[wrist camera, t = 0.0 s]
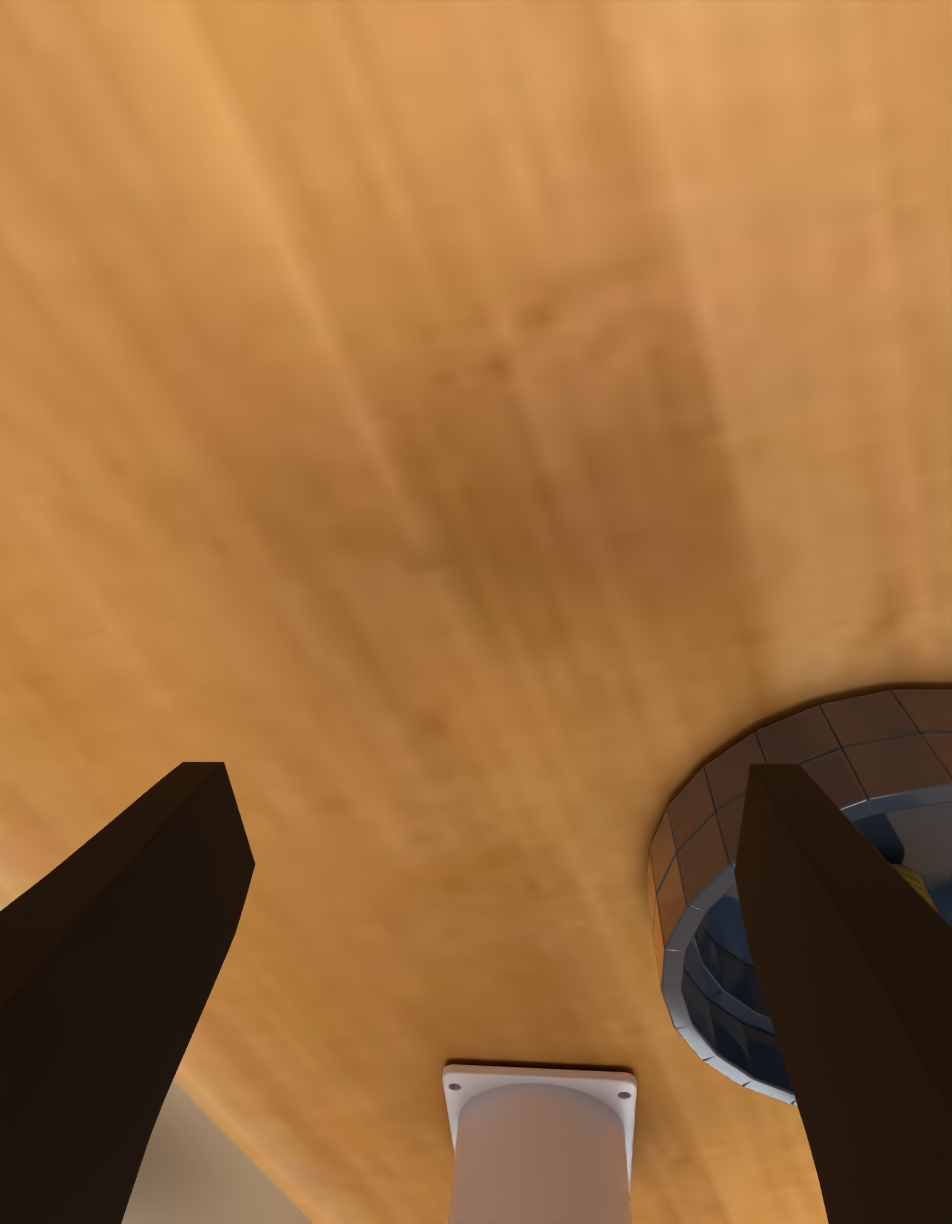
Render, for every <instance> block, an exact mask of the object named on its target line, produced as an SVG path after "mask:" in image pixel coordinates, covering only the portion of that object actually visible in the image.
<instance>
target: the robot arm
mask: <svg viewBox="0 0 952 1224" xmlns="http://www.w3.org/2000/svg"><path fill="white" fill-rule="evenodd" d="M254 867H255V862H254V859H253V855H252V852H251V849H250V846H249V842H248V839H247V836H246V833H245V829H244V826H243V823H242V819H241V816H240V813H239V810H238V806H237V803H236V800H235V796H234V793H233V790H232V787H231V783H230V780H229V777H228V774H227V770H226V767H225V764H224V762H183V763H181V764H180V765H179V766H177V767H176V768H175V769H174V770H172V771H171V772H170V773H168V774H167V775H166V776H165V777H164V778H162V779H161V780H160V781H159V782H157V783H156V784H155V785H154V786H153V787H151V788H150V789H149V790H148V791H147V792H146V793H144V794H143V795H142V796H141V797H140V798H138V799H137V800H136V801H135V802H134V803H133V804H131V805H130V806H129V807H128V808H127V809H125V810H124V811H123V812H122V813H121V814H120V815H118V816H117V817H116V818H115V819H114V820H113V821H111V822H110V823H109V824H108V825H107V826H105V827H104V828H103V829H102V830H101V831H99V832H98V833H97V834H96V835H95V836H93V837H92V838H91V839H90V840H89V841H87V842H86V843H85V844H84V845H83V846H81V847H80V848H79V849H78V850H77V851H75V852H74V853H73V854H72V855H71V856H69V857H68V858H67V859H66V860H65V861H63V862H62V863H61V864H60V865H59V866H57V867H56V868H55V869H54V870H53V871H51V872H50V873H49V874H48V875H46V876H45V877H44V878H43V879H41V880H40V881H39V882H37V883H36V884H35V885H34V886H32V887H31V888H30V889H28V890H27V891H26V892H25V893H23V894H22V895H21V896H19V897H18V898H17V899H16V900H14V901H13V902H12V903H10V904H9V905H8V906H7V907H5V908H4V909H3V910H2V911H0V1224H121V1223H122V1219H123V1216H124V1213H125V1210H126V1207H127V1204H128V1201H129V1198H130V1195H131V1192H132V1189H133V1186H134V1183H135V1180H136V1177H137V1174H138V1171H139V1168H140V1165H141V1162H142V1159H143V1156H144V1153H145V1150H146V1147H147V1144H148V1141H149V1138H150V1135H151V1133H152V1130H153V1128H154V1125H155V1122H156V1120H157V1117H158V1115H159V1112H160V1110H161V1107H162V1104H163V1102H164V1099H165V1097H166V1095H167V1092H168V1090H169V1088H170V1085H171V1083H172V1081H173V1078H174V1076H175V1074H176V1071H177V1069H178V1067H179V1064H180V1062H181V1060H182V1058H183V1055H184V1053H185V1051H186V1048H187V1046H188V1044H189V1041H190V1039H191V1037H192V1034H193V1032H194V1030H195V1027H196V1025H197V1023H198V1021H199V1018H200V1016H201V1014H202V1011H203V1009H204V1007H205V1004H206V1002H207V1000H208V997H209V995H210V993H211V990H212V988H213V986H214V983H215V981H216V979H217V976H218V974H219V972H220V969H221V967H222V964H223V962H224V960H225V957H226V955H227V953H228V950H229V948H230V945H231V943H232V940H233V938H234V935H235V933H236V929H237V926H238V923H239V920H240V916H241V913H242V910H243V907H244V903H245V900H246V896H247V892H248V889H249V885H250V881H251V878H252V874H253V870H254ZM734 875H735V880H736V886H737V891H738V897H739V902H740V908H741V913H742V918H743V923H744V928H745V933H746V938H747V943H748V948H749V951H750V955H751V958H752V961H753V965H754V968H755V971H756V975H757V978H758V981H759V984H760V987H761V991H762V994H763V997H764V1000H765V1004H766V1007H767V1010H768V1013H769V1017H770V1020H771V1023H772V1026H773V1029H774V1032H775V1036H776V1039H777V1042H778V1045H779V1048H780V1051H781V1055H782V1058H783V1061H784V1064H785V1067H786V1070H787V1074H788V1077H789V1080H790V1083H791V1086H792V1090H793V1093H794V1096H795V1099H796V1102H797V1105H798V1109H799V1112H800V1115H801V1118H802V1121H803V1124H804V1128H805V1131H806V1134H807V1138H808V1141H809V1145H810V1149H811V1152H812V1156H813V1160H814V1163H815V1167H816V1171H817V1174H818V1178H819V1182H820V1187H821V1191H822V1196H823V1200H824V1205H825V1209H826V1214H827V1218H828V1223H829V1224H952V926H951V925H950V924H949V923H948V922H947V921H946V920H945V919H944V918H943V917H942V916H941V915H940V914H939V913H938V912H937V911H936V910H935V909H934V908H933V907H932V906H931V905H930V904H929V903H928V902H927V901H926V900H925V899H924V898H923V897H922V896H921V895H920V894H919V893H918V892H917V891H916V890H915V889H914V888H913V887H912V886H911V885H910V884H909V883H908V881H907V880H906V879H905V878H904V877H903V876H902V875H901V874H900V873H899V872H898V871H897V870H896V869H895V868H894V867H893V866H892V865H891V864H890V863H889V862H888V861H887V860H886V859H885V858H884V857H883V856H882V855H881V853H880V852H879V851H878V850H877V849H876V848H875V847H874V846H873V845H872V844H871V843H870V842H869V841H868V839H867V838H866V837H865V836H864V835H863V834H862V833H861V832H860V831H859V830H858V829H857V827H856V826H855V825H854V824H853V823H852V822H851V821H850V820H849V819H848V818H847V816H846V815H845V814H844V813H843V812H842V811H841V810H840V809H839V808H838V806H837V805H836V804H835V803H834V802H833V801H832V800H831V799H830V797H829V796H828V795H827V794H826V793H825V792H824V791H823V790H822V789H821V787H820V786H819V785H818V784H817V783H816V782H815V781H814V780H813V778H812V777H811V776H810V775H809V774H808V773H807V772H806V771H805V770H804V769H803V768H802V767H801V766H800V765H799V764H750V768H749V774H748V781H747V788H746V795H745V802H744V809H743V816H742V822H741V829H740V836H739V843H738V850H737V857H736V864H735V870H734ZM442 1081H443V1087H444V1093H445V1099H446V1106H447V1112H448V1118H449V1124H450V1130H451V1136H452V1143H453V1149H454V1155H455V1159H454V1170H453V1180H452V1191H451V1201H450V1212H449V1222H448V1224H632V1218H631V1205H630V1193H629V1191H630V1184H631V1169H632V1154H633V1139H634V1125H635V1110H636V1095H637V1083H636V1078H635V1077H634V1076H633V1075H632V1074H630V1073H626V1072H608V1071H587V1070H565V1069H544V1068H522V1067H501V1066H479V1065H457V1064H452V1065H448V1066H446V1067H445V1068H444V1069H443V1075H442Z"/></svg>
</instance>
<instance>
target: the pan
mask: <svg viewBox="0 0 952 1224" xmlns="http://www.w3.org/2000/svg"><path fill="white" fill-rule="evenodd" d="M750 764H799V765H800V766H801V767H802V768H803V769H804V770H805V771H806V772H807V773H808V774H809V775H810V776H811V777H812V778H813V780H814V781H815V782H816V783H817V784H818V785H819V786H820V787H821V789H822V790H823V791H824V792H825V793H826V794H827V795H828V796H829V797H830V799H831V800H832V801H833V802H834V803H835V804H836V805H837V806H838V808H839V809H840V810H841V811H842V812H843V813H844V814H845V815H846V816H847V818H848V819H849V820H850V821H851V822H852V823H853V824H854V825H855V826H856V827H857V829H858V830H859V831H860V832H861V833H862V834H863V835H864V836H865V837H866V838H867V839H868V841H869V842H870V843H871V844H872V845H873V846H874V847H875V848H876V849H877V850H878V851H879V852H880V853H881V855H882V856H883V857H884V858H885V859H886V860H887V861H888V862H889V863H890V864H899V865H903V866H906V867H908V868H910V869H912V870H913V871H915V872H916V873H917V874H918V875H919V876H920V877H921V879H922V881H923V884H924V887H925V888H926V890H927V892H928V895H929V896H930V897H931V899H932V901H933V904H934V905H935V907H936V908H937V910H938V913H939V914H940V915H941V916H942V917H943V918H944V919H945V920H946V921H947V922H948V923H949V924H950V925H951V926H952V689H906V690H892V691H889V690H887V691H882V692H877V693H873V694H868V695H863V696H858V697H853V698H848V699H843V700H838V701H833V702H828V703H824V704H821V705H820V706H818V705H817V706H814V707H811V708H809V709H807V710H804V711H802V712H799V713H797V714H795V715H792V716H790V717H787V718H785V719H783V720H780V721H778V722H775V723H773V724H771V725H768V726H766V727H763V728H761V729H759V730H757V731H756V733H755V732H754V733H751V734H750V735H749V736H747V737H746V738H744V739H743V740H741V741H740V742H738V743H737V744H735V745H734V746H733V747H731V748H730V749H728V750H727V751H725V752H724V753H722V754H721V755H719V756H718V757H717V758H715V759H714V760H712V761H711V762H709V763H708V764H706V765H705V767H702V768H701V769H700V770H699V772H698V773H697V774H696V775H695V776H694V777H693V778H692V779H691V781H690V782H689V783H688V784H687V785H686V786H685V787H684V789H683V790H682V791H681V792H680V793H679V794H678V795H677V796H676V798H675V799H674V800H673V801H672V802H671V803H670V804H669V806H668V808H667V810H666V812H665V815H664V817H663V819H662V821H661V823H660V826H659V828H658V830H657V832H656V835H655V837H654V839H653V841H652V843H651V846H650V849H649V857H648V873H647V895H648V902H649V909H650V916H651V923H652V930H653V937H654V945H655V952H656V959H657V966H658V973H659V980H660V987H661V992H662V995H663V998H664V1001H665V1003H666V1006H667V1009H668V1012H669V1015H670V1018H671V1021H672V1023H673V1026H674V1027H675V1029H676V1030H677V1031H678V1033H679V1034H680V1035H681V1036H682V1037H683V1038H684V1040H685V1041H686V1042H687V1043H688V1044H689V1046H690V1047H691V1048H692V1049H693V1050H694V1051H695V1053H696V1054H697V1055H698V1056H699V1057H700V1058H701V1059H703V1061H704V1062H706V1063H707V1064H709V1065H710V1066H712V1067H713V1068H715V1069H716V1070H718V1071H719V1072H721V1073H722V1074H724V1075H726V1076H727V1077H729V1078H730V1079H732V1080H733V1081H735V1082H736V1083H738V1084H739V1085H742V1086H743V1087H746V1088H748V1089H751V1090H754V1091H756V1092H759V1093H761V1094H764V1095H767V1096H769V1097H772V1098H775V1099H777V1100H780V1101H782V1102H785V1103H788V1104H792V1105H795V1106H798V1105H797V1102H796V1099H795V1096H794V1093H793V1090H792V1086H791V1083H790V1080H789V1077H788V1074H787V1070H786V1067H785V1064H784V1061H783V1058H782V1055H781V1051H780V1048H779V1045H778V1042H777V1039H776V1036H775V1032H774V1029H773V1026H772V1023H771V1020H770V1017H769V1013H768V1010H767V1007H766V1004H765V1000H764V997H763V994H762V991H761V987H760V984H759V981H758V978H757V975H756V971H755V968H754V965H753V961H752V958H751V955H750V951H749V948H748V943H747V938H746V933H745V928H744V923H743V918H742V913H741V908H740V902H739V897H738V891H737V886H736V880H735V875H734V870H735V864H736V857H737V850H738V843H739V836H740V829H741V822H742V816H743V809H744V802H745V795H746V788H747V781H748V774H749V768H750Z"/></svg>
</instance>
